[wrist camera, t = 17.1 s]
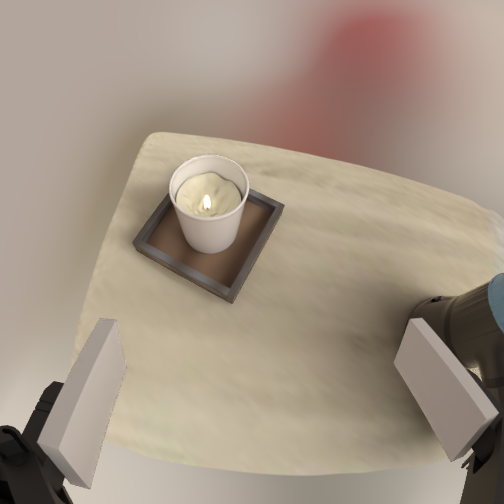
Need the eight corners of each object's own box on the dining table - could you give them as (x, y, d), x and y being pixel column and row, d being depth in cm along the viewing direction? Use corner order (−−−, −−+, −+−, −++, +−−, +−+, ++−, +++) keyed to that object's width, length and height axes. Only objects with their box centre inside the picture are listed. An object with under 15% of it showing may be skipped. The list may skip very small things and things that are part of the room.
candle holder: (198, 193, 50) (195, 144, 39) (252, 218, 49) (262, 171, 38) (167, 241, 46) (153, 198, 35) (224, 270, 45) (226, 232, 34)
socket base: (281, 214, 51) (284, 205, 48) (232, 303, 44) (233, 298, 42) (193, 173, 53) (192, 162, 50) (136, 250, 46) (132, 242, 43)
